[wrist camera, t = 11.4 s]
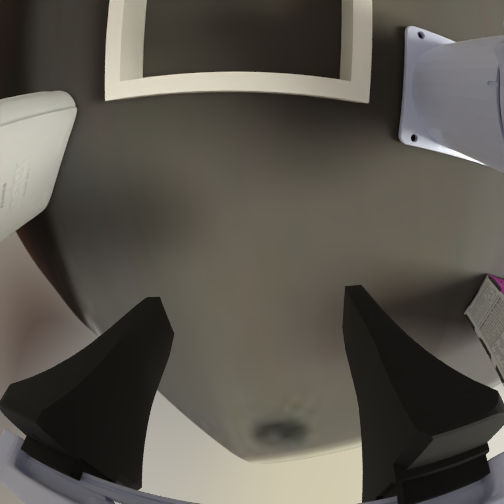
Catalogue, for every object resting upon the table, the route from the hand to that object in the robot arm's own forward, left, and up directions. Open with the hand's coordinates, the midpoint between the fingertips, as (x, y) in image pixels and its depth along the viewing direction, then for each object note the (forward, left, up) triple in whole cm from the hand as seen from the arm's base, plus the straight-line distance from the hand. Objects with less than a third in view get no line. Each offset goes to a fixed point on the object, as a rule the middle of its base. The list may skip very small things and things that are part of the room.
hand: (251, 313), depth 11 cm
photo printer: (+17, -5, -10) cm, 20 cm away
